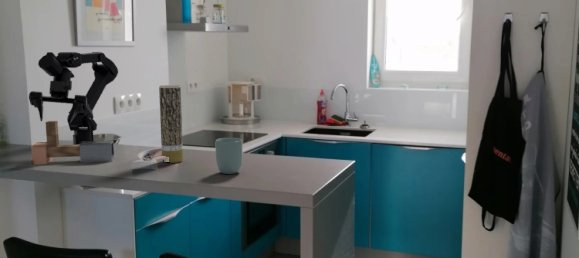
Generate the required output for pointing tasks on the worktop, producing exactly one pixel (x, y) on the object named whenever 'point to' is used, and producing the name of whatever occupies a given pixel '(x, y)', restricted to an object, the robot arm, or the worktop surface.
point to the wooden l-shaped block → (53, 143)
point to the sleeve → (96, 151)
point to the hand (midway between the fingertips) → (55, 121)
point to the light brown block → (40, 153)
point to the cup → (229, 155)
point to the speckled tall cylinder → (171, 122)
